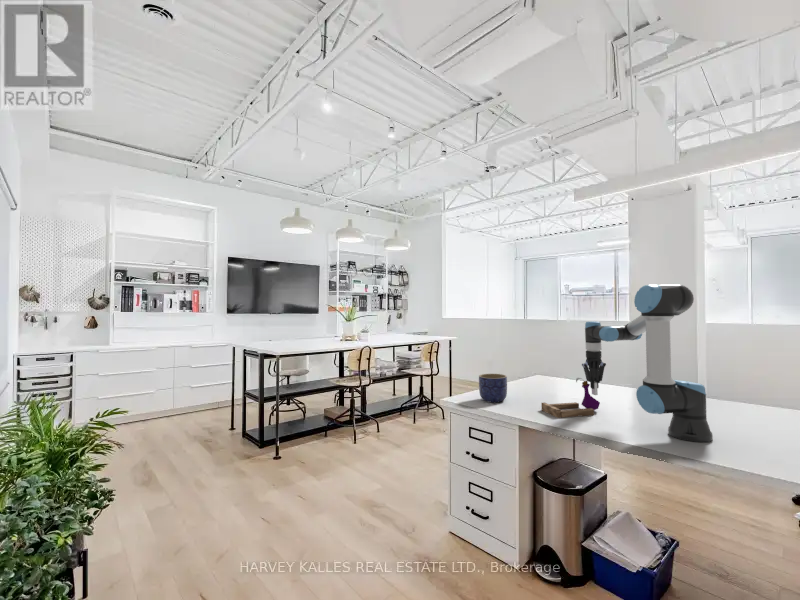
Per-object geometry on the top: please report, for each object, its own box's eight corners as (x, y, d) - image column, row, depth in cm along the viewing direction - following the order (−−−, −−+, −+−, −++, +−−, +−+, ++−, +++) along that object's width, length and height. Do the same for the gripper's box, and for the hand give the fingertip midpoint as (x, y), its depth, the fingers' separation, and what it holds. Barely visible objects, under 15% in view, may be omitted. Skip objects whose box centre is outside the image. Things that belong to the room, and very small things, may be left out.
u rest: (593, 415, 200) (593, 407, 200) (557, 417, 197) (556, 409, 197) (576, 407, 215) (575, 400, 215) (541, 410, 211) (541, 402, 211)
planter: (490, 396, 246) (490, 372, 247) (513, 400, 234) (512, 375, 234) (473, 400, 236) (473, 375, 236) (496, 405, 223) (495, 379, 223)
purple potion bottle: (596, 404, 212) (583, 373, 212) (602, 408, 204) (588, 376, 205) (583, 409, 212) (570, 378, 213) (588, 413, 205) (574, 381, 206)
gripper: (599, 349, 214) (601, 392, 213) (578, 350, 212) (579, 393, 211) (609, 350, 206) (610, 395, 206) (586, 351, 204) (587, 396, 204)
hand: (594, 394), depth 209 cm, fingers closed
